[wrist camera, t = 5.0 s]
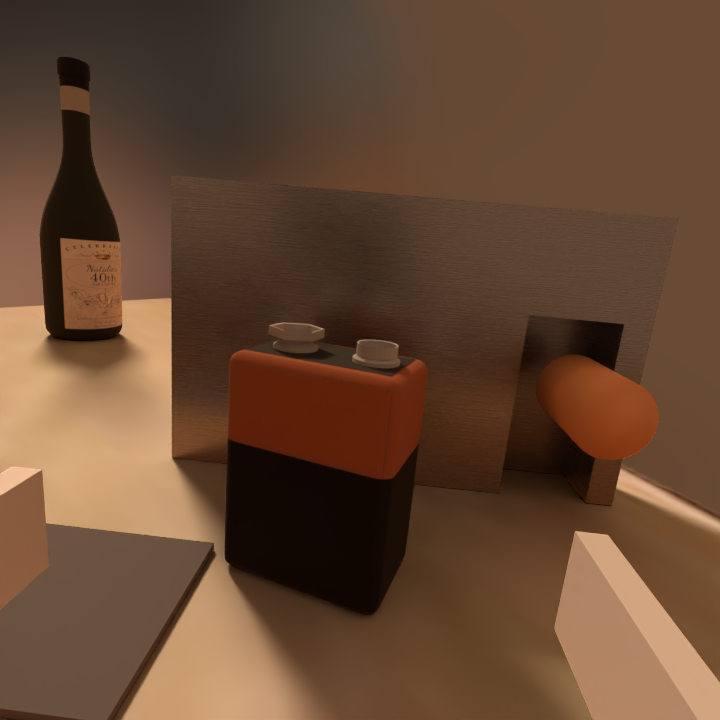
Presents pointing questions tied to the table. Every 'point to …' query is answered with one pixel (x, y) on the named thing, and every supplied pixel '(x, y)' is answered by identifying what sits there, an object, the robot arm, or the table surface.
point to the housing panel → (416, 310)
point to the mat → (91, 621)
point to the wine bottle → (79, 228)
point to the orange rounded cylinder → (597, 407)
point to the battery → (322, 463)
